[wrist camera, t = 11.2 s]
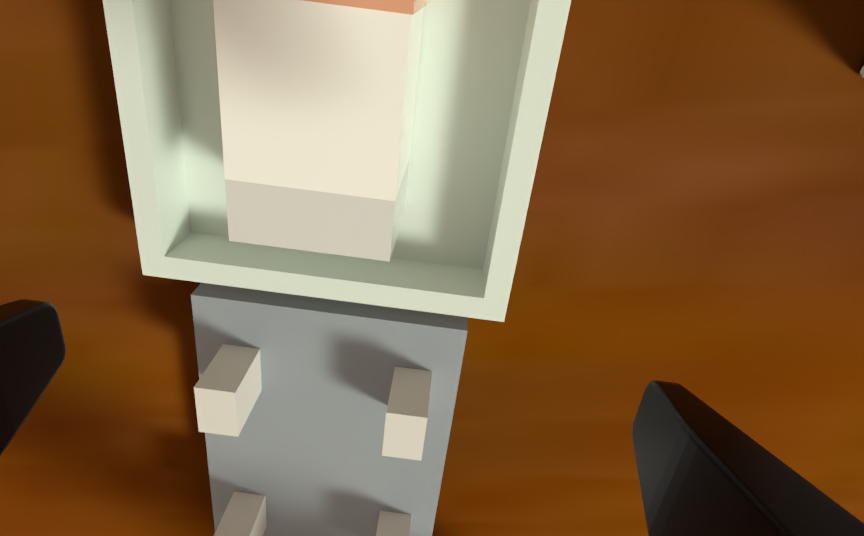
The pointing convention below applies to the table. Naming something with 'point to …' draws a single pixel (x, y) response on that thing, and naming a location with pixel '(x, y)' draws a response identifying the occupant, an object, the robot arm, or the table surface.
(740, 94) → the table surface
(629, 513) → the table surface
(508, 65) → the tray
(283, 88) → the fuse
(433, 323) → the holder
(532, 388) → the table surface
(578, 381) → the table surface
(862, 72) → the light bulb box
